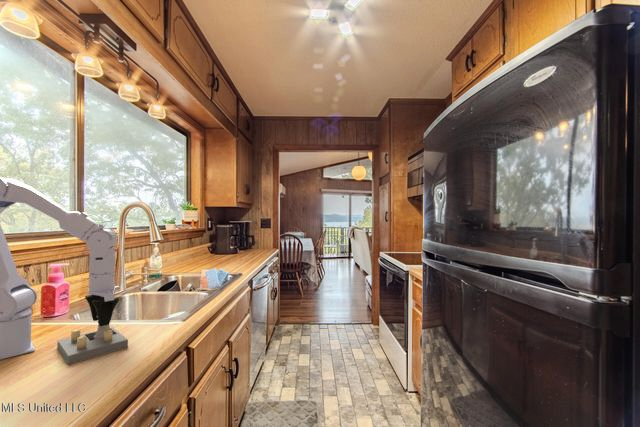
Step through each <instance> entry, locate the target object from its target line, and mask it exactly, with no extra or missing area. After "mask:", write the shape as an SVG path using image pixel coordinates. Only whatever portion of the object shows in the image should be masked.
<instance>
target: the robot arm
mask: <svg viewBox="0 0 640 427" xmlns="http://www.w3.org/2000/svg"><path fill="white" fill-rule="evenodd" d="M16 203H20V204H25V205H28V206H30V207H31V208H33V209H36V210H37V211H39V212H40V213H42V214H45V215H46V216H48V217H50V218H52V219H54V220H56V221H57V222H58V225H59V229H61V230H63V231H64V232H67V233H68V234H70V235H71V236H73V237H74V238H76V239H79V240H80V241H82V242H84V243H85V245H86V247H87V249H89V262H88V263H89V264H88V265H89V267H88V270H89V272H88V289H87V294H88V295H84V298H85V300H86V301H87V303H88V306H89V309H90V313H91V318H92V320H93V322H95V321H97V323H99V326H104V325H109V326H110V325H111V324H110V323H111V321H112V316H113V314H114V310H115V308H116V306H117V304H118V303H119V300H120V298H119V297H115V295H116V294H115V291H116V290H117V291H118V290H120V286H119V285H116V245H117V244H118V241H119V236H118V233H117V232H115V231H114V229H112V228H104V227H105V225H104V224H103V223H98V222H96V221H95V220H93V219H91V218H90V217H88V216H89V214H88V213H86V212H84V211H83V212H82V211H81V212H80V211H78V210H75V211H69V210H67V209H66V208H64V207H62V206H61V205H59V204H58V203H56V202H55V201H54V200H52V199H50V198H49V197H48V196H46V195H45V194H43V193H42V192H40V191H38V190H37V189H35V188H34V187H32V186H30V185H29V184H25V183H24V182H22V181H20V180H18V179H15V178H8V177H7V178H6V177H2V176H0V215H1V214H2V213H3V212H4V211H6V209H8V208H9V207H12V206H13V205H15V204H16ZM37 300H38V293H37V292H36V290H35V289H34V288H33V287H31V286H30V284H29V283H28V280H27V279H26V278H24V277H23V276H21V275H20V273H19V271H18V269H17V266H16V264H15V261H14V258H13V255H12V252H11V249H10V247H9V244H8V241H7V239H6V236H5V232H4V230H3V227H2V225H1V224H0V360H4V359H7V358H11V357H15V356H20V355H24V354H27V353H32V352H35V350H36V348H35V347H34V346H35V345H34V344H33V342H32V314H33V312H32V311H33V310H32V307H33V306H34V305H35V304H36V302H37ZM97 316H98V318H97Z"/></svg>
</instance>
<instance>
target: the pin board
mask: <svg viewBox="0 0 640 427" xmlns="http://www.w3.org/2000/svg"><path fill="white" fill-rule="evenodd" d="M96 332H97V330H94V331H90V332H87V333H82V334H81V329H79V328H78V329H73V330H71V331H70V333H71V335H70V337H66V338H62V339H58V340H57V347H56V348H57V350H58V352H59V353H60V355H61V356H62V357H63V359H64V360H65V362H66V364H67V365H71V364H75V363H78V362H82V361H85V360H88V359H92V358H96V357H99V356H102V355H106V354H109V353H112V352H115V351H120V350H122V349H126V348H128V347H129V346H128V345H129V339H128V338H127V337H125V336H124V335H123V334H122V333H120V332H119V331H118V330H117V329H116V328H114V327H113V326H112V327H111V326H110V330H106V331H104V337H103V338H99V339H94V336H95V335H96ZM112 333H113V335H112Z"/></svg>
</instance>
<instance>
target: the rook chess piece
mask: <svg viewBox="0 0 640 427" xmlns="http://www.w3.org/2000/svg"><path fill="white" fill-rule="evenodd" d="M97 318H98V316H97ZM97 323H98V322H97ZM110 328H111V326H110V324H109V325H104V326H99V323H98V324H97V330H96V331H97V332H96V335H95V336H94V340H95V339H99V338H103V337H104V331H106V330H110ZM112 335H113V333H112Z"/></svg>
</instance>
